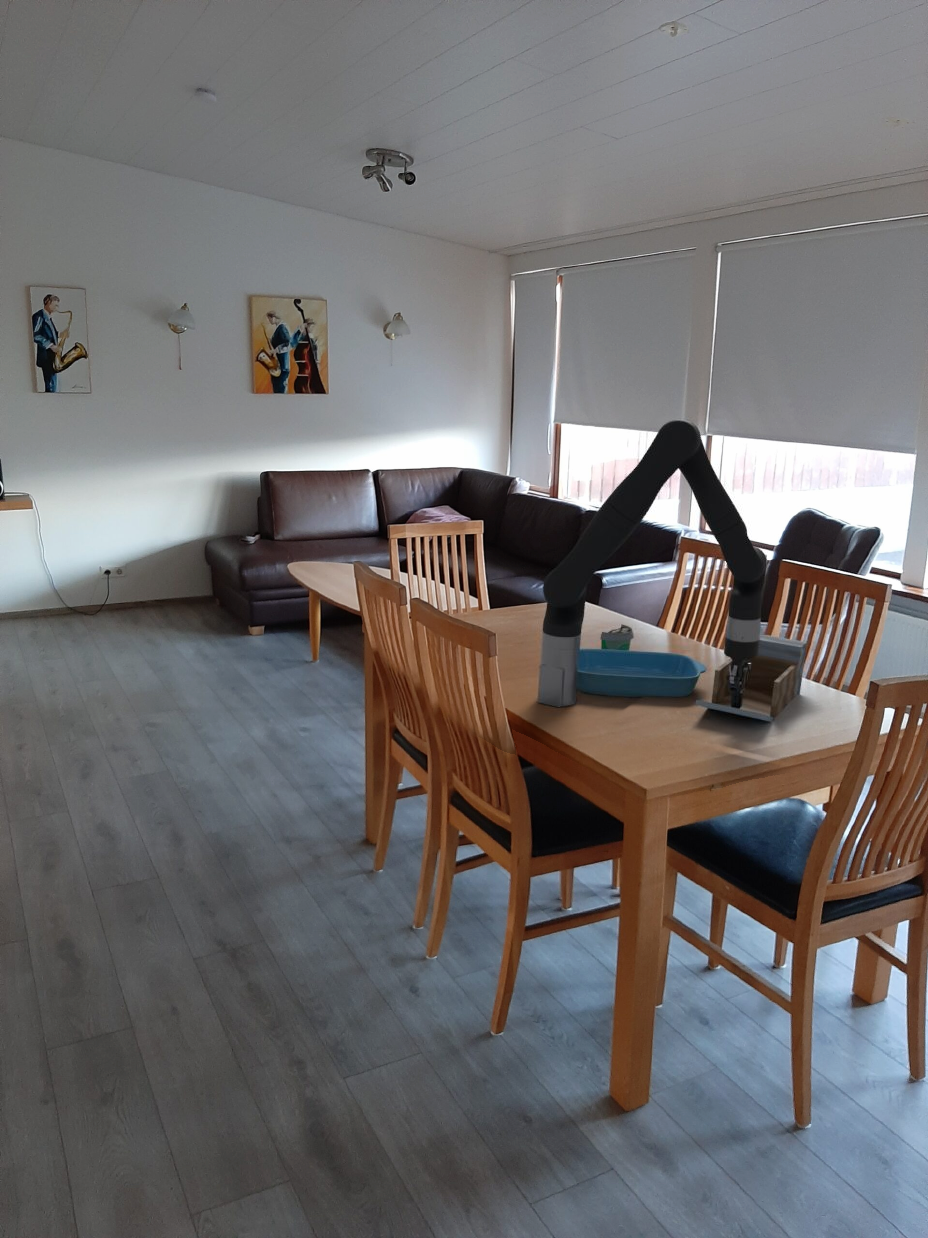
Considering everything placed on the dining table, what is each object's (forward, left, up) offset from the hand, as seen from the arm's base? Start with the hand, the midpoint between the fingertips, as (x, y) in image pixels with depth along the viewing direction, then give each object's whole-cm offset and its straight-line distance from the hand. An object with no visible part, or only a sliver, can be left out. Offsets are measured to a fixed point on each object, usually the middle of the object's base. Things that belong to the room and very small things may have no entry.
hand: (736, 707), depth 217 cm
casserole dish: (+11, +30, -5) cm, 32 cm away
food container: (+27, +40, -4) cm, 49 cm away
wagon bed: (+20, 0, -4) cm, 20 cm away
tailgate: (+6, 0, -3) cm, 7 cm away
